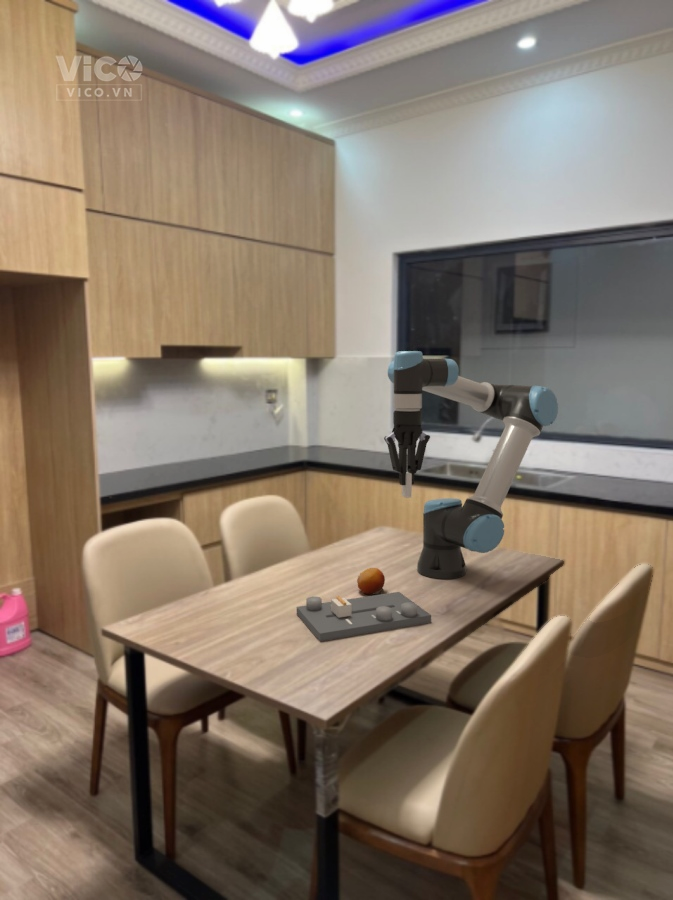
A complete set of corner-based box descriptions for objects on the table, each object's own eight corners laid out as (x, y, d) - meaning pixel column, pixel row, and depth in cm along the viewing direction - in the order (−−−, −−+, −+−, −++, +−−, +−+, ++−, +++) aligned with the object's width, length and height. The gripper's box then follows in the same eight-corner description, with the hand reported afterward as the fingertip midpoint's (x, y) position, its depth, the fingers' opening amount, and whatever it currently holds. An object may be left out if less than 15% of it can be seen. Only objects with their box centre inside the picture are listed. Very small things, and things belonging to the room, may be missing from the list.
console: (398, 598, 181) (399, 583, 180) (431, 622, 164) (431, 606, 163) (296, 614, 170) (296, 598, 169) (319, 641, 153) (319, 623, 153)
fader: (343, 608, 167) (343, 595, 167) (351, 615, 163) (351, 602, 162) (331, 610, 166) (331, 597, 166) (338, 617, 161) (338, 604, 161)
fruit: (389, 593, 181) (374, 568, 181) (365, 605, 183) (351, 581, 183) (392, 583, 189) (378, 559, 189) (369, 595, 191) (356, 572, 191)
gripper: (422, 408, 178) (421, 492, 181) (379, 409, 173) (378, 495, 176) (436, 409, 171) (434, 497, 174) (391, 411, 166) (391, 501, 169)
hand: (406, 496), depth 175 cm, fingers closed
